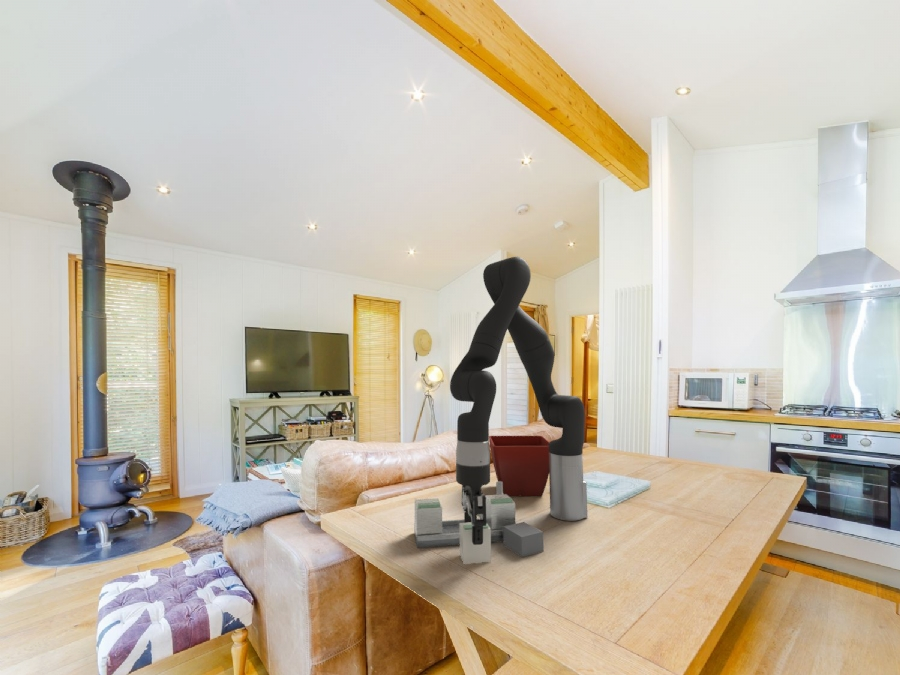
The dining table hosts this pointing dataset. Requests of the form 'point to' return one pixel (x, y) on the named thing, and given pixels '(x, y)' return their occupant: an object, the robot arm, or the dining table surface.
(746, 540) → the dining table surface
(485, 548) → the block
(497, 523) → the rail board
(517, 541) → the block
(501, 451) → the plant pot
